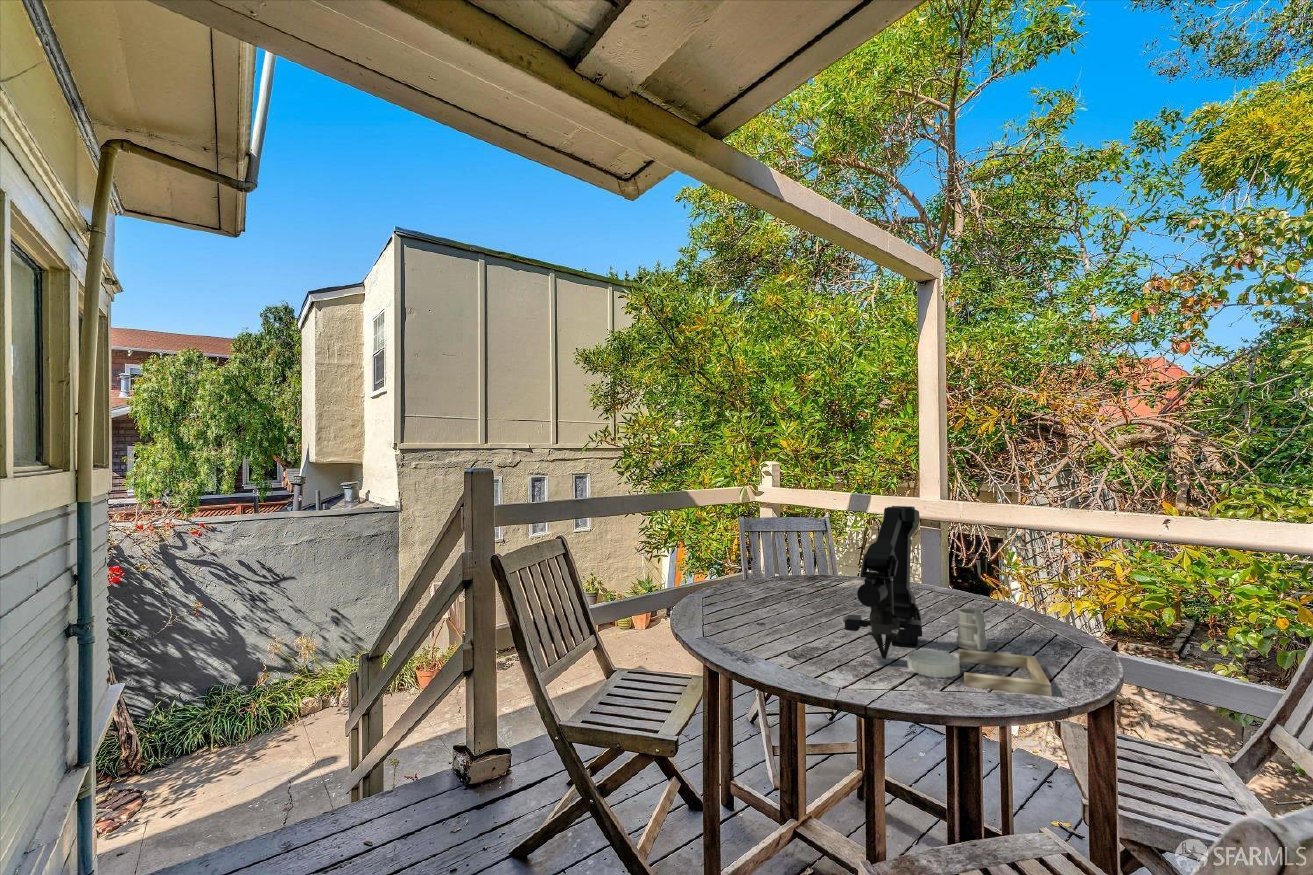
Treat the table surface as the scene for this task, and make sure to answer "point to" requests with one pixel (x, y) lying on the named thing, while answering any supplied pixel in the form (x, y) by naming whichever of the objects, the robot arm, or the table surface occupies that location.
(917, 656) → the mooncake
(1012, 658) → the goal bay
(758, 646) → the table surface
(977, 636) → the mug
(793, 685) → the table surface
